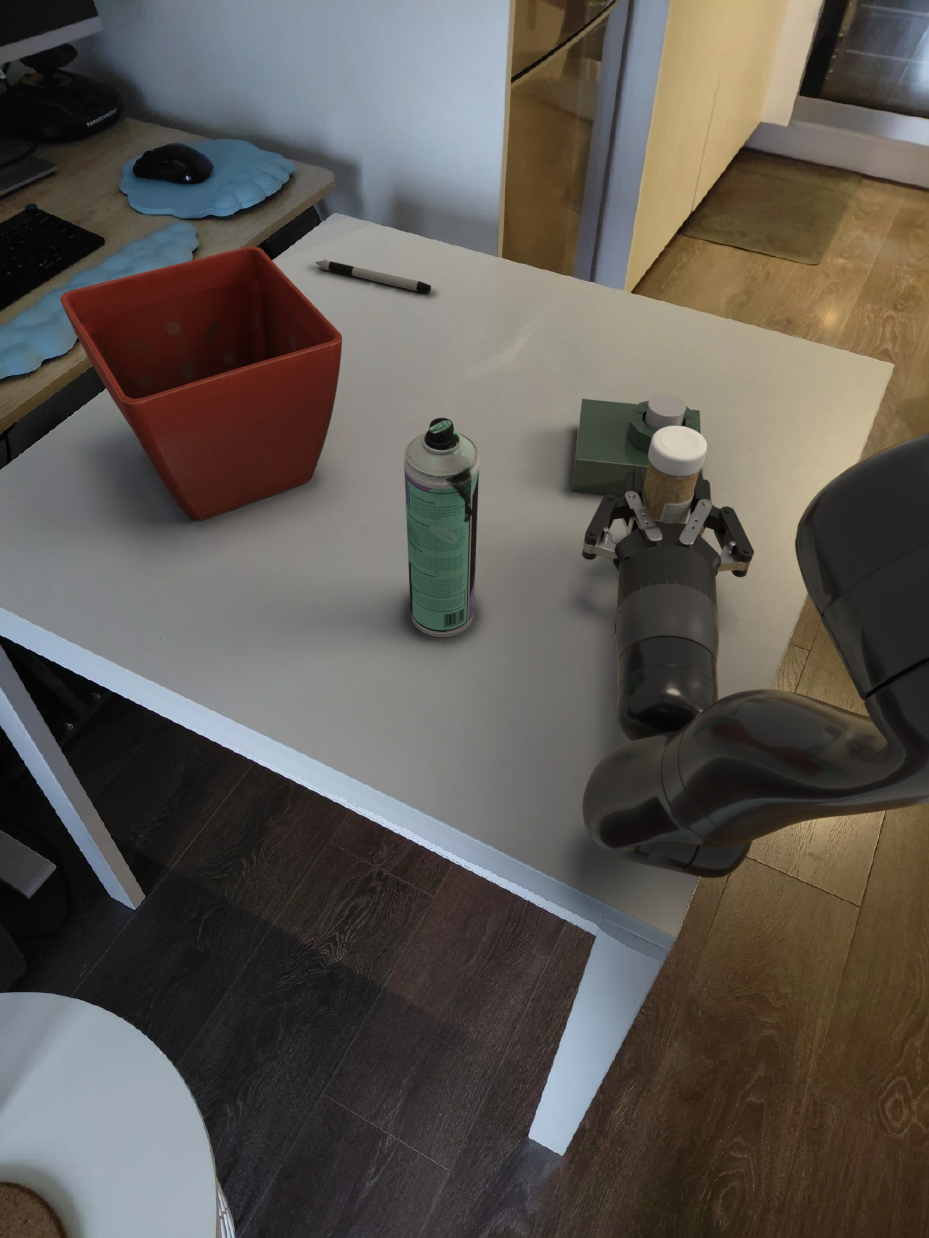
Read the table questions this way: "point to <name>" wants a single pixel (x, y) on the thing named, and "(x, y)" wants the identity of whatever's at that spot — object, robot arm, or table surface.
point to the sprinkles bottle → (673, 473)
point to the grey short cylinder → (664, 411)
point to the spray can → (441, 528)
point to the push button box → (614, 444)
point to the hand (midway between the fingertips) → (665, 478)
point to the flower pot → (215, 374)
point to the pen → (375, 276)
